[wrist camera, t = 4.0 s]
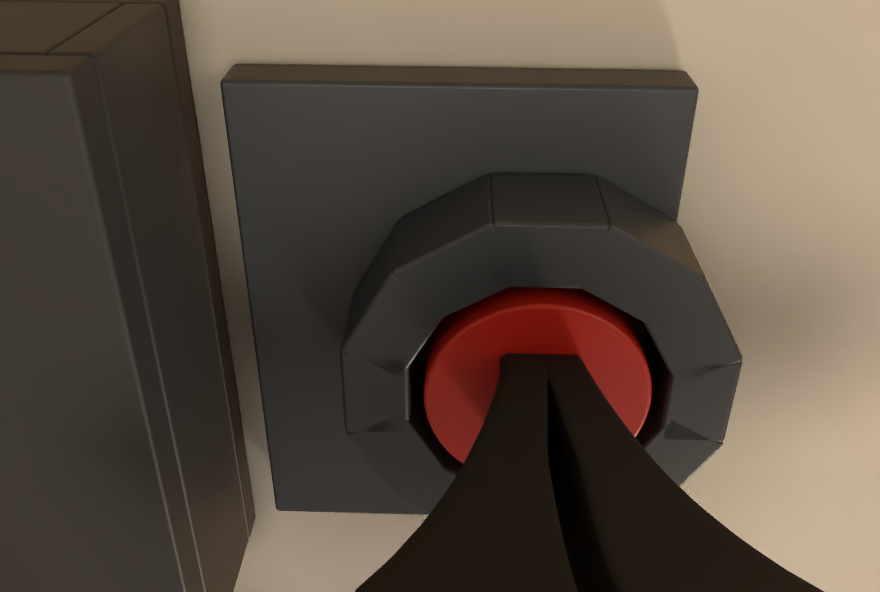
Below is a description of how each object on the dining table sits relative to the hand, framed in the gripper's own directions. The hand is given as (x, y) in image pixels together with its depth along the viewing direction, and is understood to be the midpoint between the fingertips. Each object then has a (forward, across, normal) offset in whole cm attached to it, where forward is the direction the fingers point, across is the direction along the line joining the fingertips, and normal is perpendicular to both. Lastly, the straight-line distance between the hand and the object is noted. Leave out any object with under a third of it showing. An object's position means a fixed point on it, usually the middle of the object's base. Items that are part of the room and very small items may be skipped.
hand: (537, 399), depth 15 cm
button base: (+3, +2, 0) cm, 3 cm away
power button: (+2, 0, 0) cm, 2 cm away
